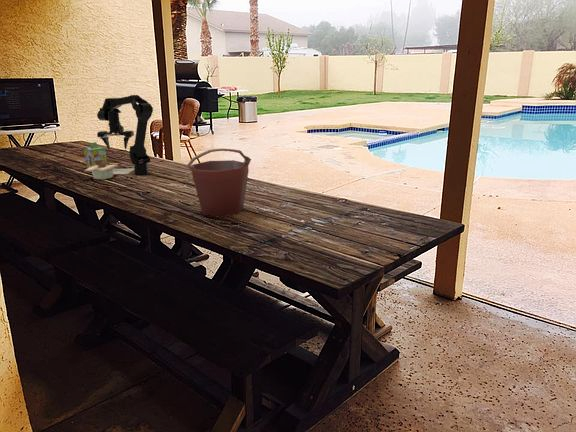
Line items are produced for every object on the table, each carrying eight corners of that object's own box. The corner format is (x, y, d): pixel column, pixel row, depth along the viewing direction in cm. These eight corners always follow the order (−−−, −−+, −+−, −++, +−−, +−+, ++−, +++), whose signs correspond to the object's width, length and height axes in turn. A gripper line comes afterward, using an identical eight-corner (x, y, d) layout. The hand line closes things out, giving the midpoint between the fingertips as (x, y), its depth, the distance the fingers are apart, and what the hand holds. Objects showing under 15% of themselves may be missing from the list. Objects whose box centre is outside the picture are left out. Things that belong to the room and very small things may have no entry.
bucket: (253, 203, 205) (251, 144, 198) (251, 218, 184) (248, 153, 177) (195, 204, 204) (191, 145, 197) (187, 220, 183) (181, 154, 176)
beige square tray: (118, 166, 265) (117, 157, 263) (109, 170, 252) (108, 161, 251) (95, 166, 265) (93, 157, 263) (85, 171, 252) (83, 162, 251)
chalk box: (94, 169, 282) (90, 144, 277) (85, 168, 287) (82, 143, 283) (108, 167, 289) (105, 142, 284) (99, 165, 294) (96, 141, 290)
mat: (136, 169, 281) (136, 168, 281) (127, 174, 267) (127, 173, 267) (110, 169, 282) (110, 168, 281) (100, 174, 267) (100, 174, 267)
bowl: (115, 175, 265) (114, 166, 263) (109, 179, 255) (107, 170, 254) (97, 175, 265) (96, 166, 263) (90, 179, 255) (89, 170, 254)
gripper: (135, 119, 275) (138, 146, 280) (102, 119, 275) (105, 147, 280) (129, 121, 264) (132, 149, 269) (95, 122, 264) (98, 150, 269)
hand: (117, 149), depth 272 cm, fingers open, 9 cm apart
